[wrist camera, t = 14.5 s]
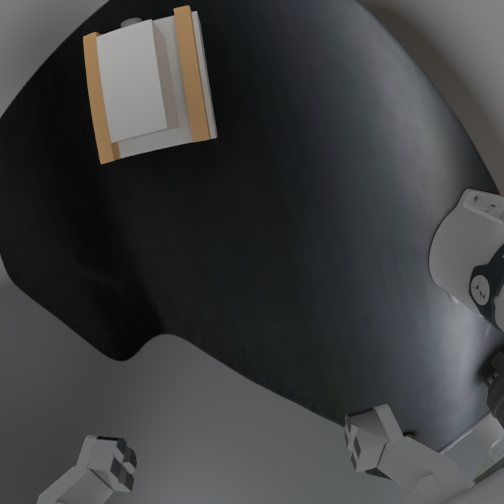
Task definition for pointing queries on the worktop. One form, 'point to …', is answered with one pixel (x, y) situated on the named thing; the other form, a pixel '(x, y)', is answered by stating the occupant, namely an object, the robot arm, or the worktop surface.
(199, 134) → the white tray with rails
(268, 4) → the worktop surface
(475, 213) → the robot arm
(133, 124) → the white block with knob
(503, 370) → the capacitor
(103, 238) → the worktop surface
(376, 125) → the worktop surface
